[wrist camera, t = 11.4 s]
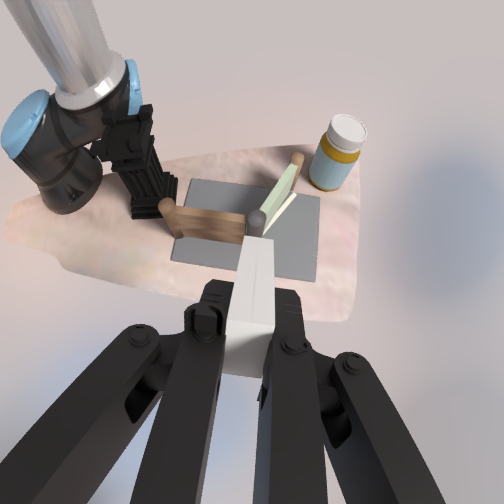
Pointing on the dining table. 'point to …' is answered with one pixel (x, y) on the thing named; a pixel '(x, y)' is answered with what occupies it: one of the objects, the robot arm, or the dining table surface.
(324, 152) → the bottle
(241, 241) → the walnut fence section
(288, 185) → the fence panel
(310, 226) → the board
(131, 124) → the chess piece
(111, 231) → the dining table surface
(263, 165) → the dining table surface
